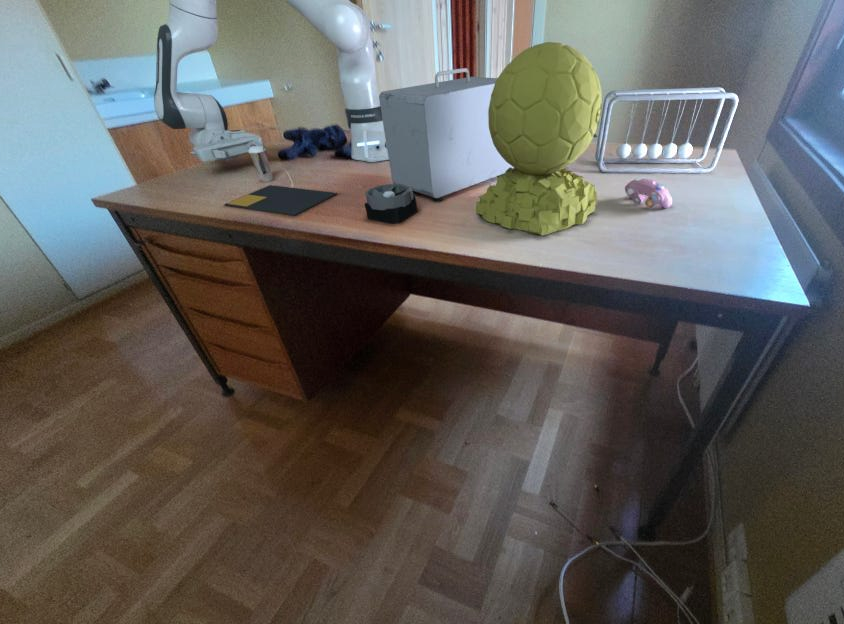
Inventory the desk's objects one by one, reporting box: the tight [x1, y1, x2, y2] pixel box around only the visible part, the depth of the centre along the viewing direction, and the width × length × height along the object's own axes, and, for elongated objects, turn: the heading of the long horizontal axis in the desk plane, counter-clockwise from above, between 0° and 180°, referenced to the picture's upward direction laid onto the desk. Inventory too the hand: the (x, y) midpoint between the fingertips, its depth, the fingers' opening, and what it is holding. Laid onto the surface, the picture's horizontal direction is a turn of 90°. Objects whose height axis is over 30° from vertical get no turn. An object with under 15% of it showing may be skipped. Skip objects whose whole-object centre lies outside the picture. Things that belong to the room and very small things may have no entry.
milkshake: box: [248, 142, 274, 183], centre depth 113 cm, size 4×5×10 cm
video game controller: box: [624, 177, 673, 209], centre depth 86 cm, size 10×5×7 cm, turn 36°
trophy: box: [475, 41, 603, 236], centre depth 77 cm, size 22×22×30 cm
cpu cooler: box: [364, 183, 418, 224], centre depth 89 cm, size 10×6×10 cm
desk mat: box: [224, 184, 338, 217], centre depth 102 cm, size 24×16×1 cm, turn 66°
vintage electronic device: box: [379, 67, 514, 202], centre depth 99 cm, size 32×18×25 cm, turn 135°
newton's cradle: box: [594, 86, 739, 174], centre depth 103 cm, size 30×10×18 cm, turn 80°
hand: (241, 151), depth 118 cm, fingers open, 8 cm apart
